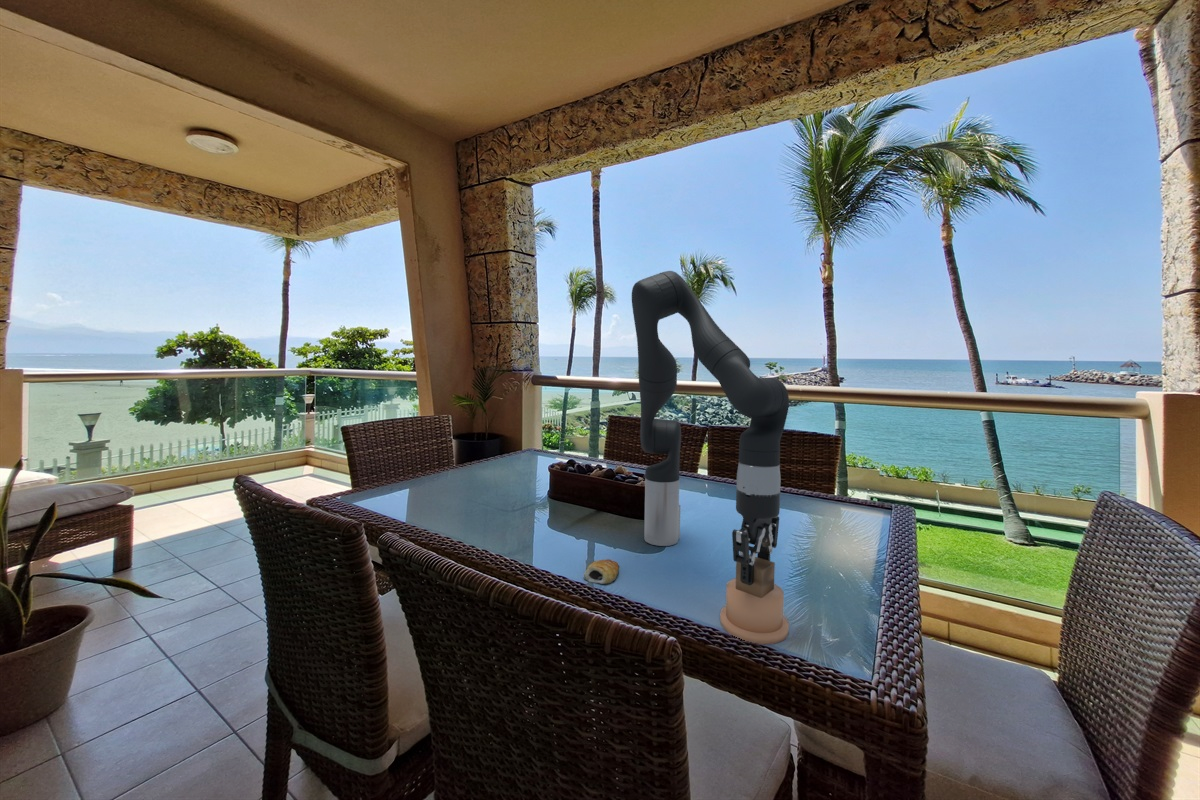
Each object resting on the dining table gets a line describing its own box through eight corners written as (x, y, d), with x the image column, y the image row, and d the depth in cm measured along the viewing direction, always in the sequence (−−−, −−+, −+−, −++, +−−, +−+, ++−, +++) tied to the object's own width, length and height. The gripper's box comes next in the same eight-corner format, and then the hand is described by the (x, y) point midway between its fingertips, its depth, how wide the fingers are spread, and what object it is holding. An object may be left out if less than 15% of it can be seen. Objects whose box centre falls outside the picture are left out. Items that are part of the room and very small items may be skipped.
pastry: (600, 565, 113) (600, 550, 113) (626, 571, 110) (626, 555, 110) (581, 581, 105) (581, 564, 105) (609, 588, 102) (609, 571, 102)
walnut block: (748, 580, 90) (749, 554, 90) (773, 588, 87) (774, 562, 86) (735, 588, 87) (736, 562, 86) (761, 598, 83) (762, 570, 83)
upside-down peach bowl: (740, 602, 96) (741, 569, 95) (799, 626, 87) (800, 589, 87) (707, 625, 87) (708, 588, 87) (769, 653, 79) (771, 613, 78)
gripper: (756, 477, 93) (754, 560, 94) (718, 491, 83) (716, 583, 84) (794, 484, 88) (791, 572, 89) (759, 499, 78) (756, 598, 79)
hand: (755, 577), depth 87 cm, fingers open, 6 cm apart
